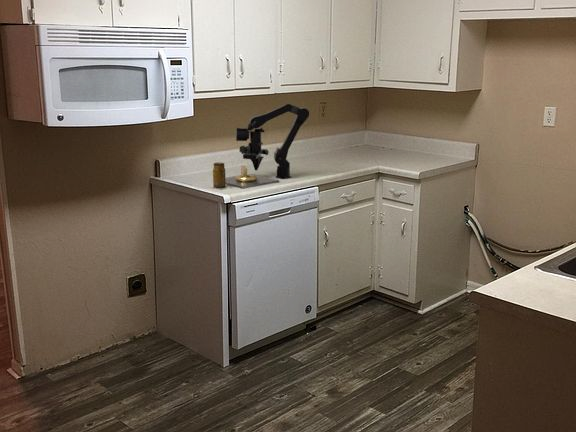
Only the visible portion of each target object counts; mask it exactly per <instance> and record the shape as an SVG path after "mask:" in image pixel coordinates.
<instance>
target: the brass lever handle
mask: <svg viewBox="0 0 576 432" xmlns="http://www.w3.org/2000/svg"><path fill="white" fill-rule="evenodd" d="M240 168H241V169H240V174H238V175H235V176H236V180H237V181H255V180H257V176H258V175H257V176H256V174H253V175H247V174H248V167H247V166H245V165H241V166H240Z"/></svg>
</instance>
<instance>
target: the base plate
mask: <svg viewBox="0 0 576 432" xmlns="http://www.w3.org/2000/svg"><path fill="white" fill-rule="evenodd" d="M247 175H254V174H252V173H247ZM255 175H256V174H255ZM236 176H237V175H233V176H229V177H225V182H226V185H225V186H229V187H235V188H237V189H249V188H255V187H259V186H260V187H261V186H265V185H271V184H277V183H280V180H279V179H275V178H270V177H266V176H261V175H256V176H257V180H255V181H237V180H236Z"/></svg>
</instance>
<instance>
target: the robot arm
mask: <svg viewBox="0 0 576 432" xmlns="http://www.w3.org/2000/svg"><path fill="white" fill-rule="evenodd" d="M287 112H289V113H292V114H293V115H295V117H294V121H293V124H292V125H291V127H290V129H289V131H288V133H287V135H286V137H285V138H284V141H283V142H282V144H281V146H280V147H278V146H277V147H276V149H275V151H274V153H273V160H274V161H275V163H276V164H277V166H276V167H277V168H276V175H275V178H276V179H282V180H285V179H291V178H292V176H291V173H290V172H291V170H290V168H291V166H290V165H291V163H290V162H289V161H288V159H287V157H288V153H289V149H290V147H291V146H292V144H293V142H294V140H295V138H296V136H297V134H298V132H299V130H300V128H301V127H302V126H303V125H304V124H305V122H306V121H307V119H308V118H309V117H310V111H309V110H308V109H307V108H306V107H302V106H301V107H298V106H296V105H293V104H290V103H284V105H281V106H279V107H276V108H274V109H272V110H270V111H268V112H265V113H262V114H258V115H253V116H252V117H250V119H249V123H248V125H247V126H246V127H236V131H235V132H236V133H235V139H236V142H247V141H248V140H249V141H250V142H248V143H247V144H248V145H246V146H245V145H240V146H239V152H240V153H241V155H242V159H244V160H250V161H251V162H252V165H253V168H254V171H258V170H259V167H260V165H261V163H262V160H263V159H264V157H265V156H267V155H269V150H268V149H267V148H262V145H264V144H263V142H262V133H265V129H263V127H262V126H263V125H264V124H266V123H267V122H268V121H270V120H273V119H275V118H277V117H279V116H282V115H284V114H286V113H287ZM262 155H263V156H262ZM264 155H265V156H264Z"/></svg>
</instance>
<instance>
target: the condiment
mask: <svg viewBox="0 0 576 432" xmlns="http://www.w3.org/2000/svg"><path fill="white" fill-rule="evenodd" d="M225 166H226V165H225V163H224V162H214V163H213V170H212V184H213V185H212V186H211V185H210V186H209V188H214V189H219V190H225V189H229V188H231V186H230V185H226V182H225V178H226V168H225Z"/></svg>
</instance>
